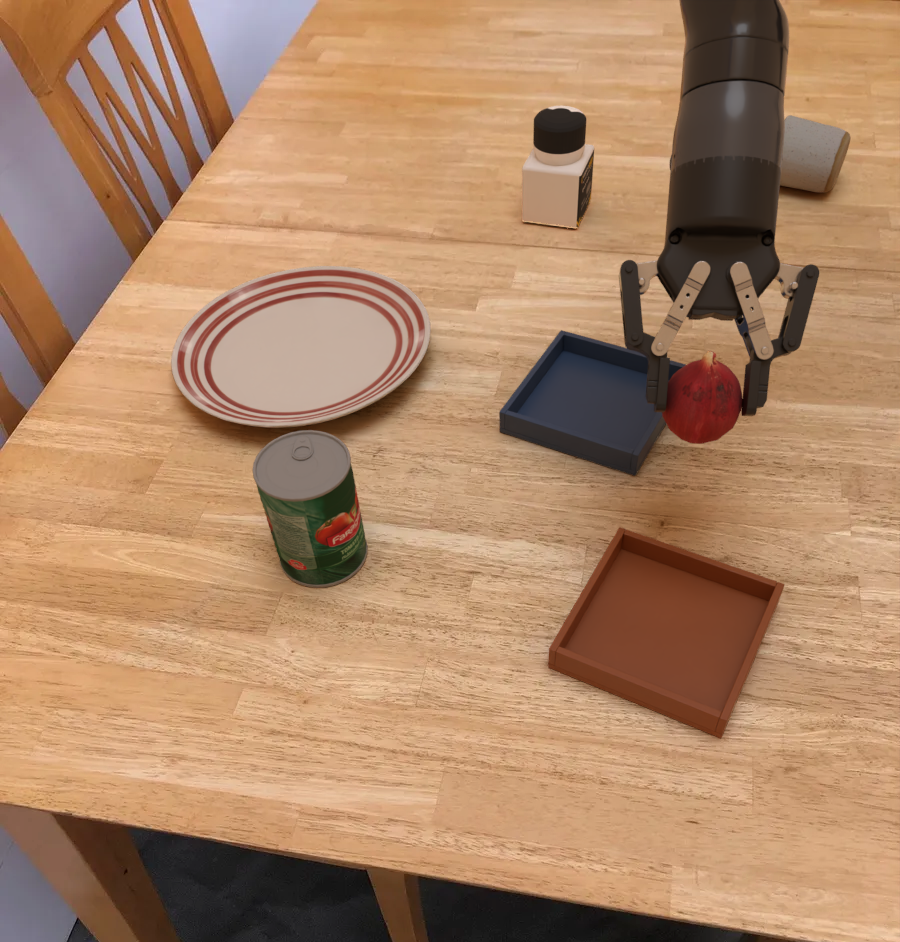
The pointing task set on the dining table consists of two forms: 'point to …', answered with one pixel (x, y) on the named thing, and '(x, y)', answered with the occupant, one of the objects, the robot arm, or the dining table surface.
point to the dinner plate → (301, 346)
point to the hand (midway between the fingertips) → (704, 412)
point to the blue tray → (587, 403)
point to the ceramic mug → (812, 154)
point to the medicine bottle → (558, 168)
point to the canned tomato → (312, 507)
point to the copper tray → (667, 630)
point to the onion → (703, 400)
